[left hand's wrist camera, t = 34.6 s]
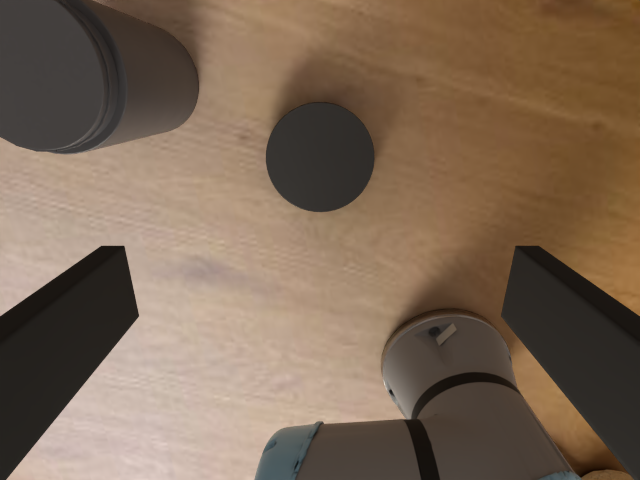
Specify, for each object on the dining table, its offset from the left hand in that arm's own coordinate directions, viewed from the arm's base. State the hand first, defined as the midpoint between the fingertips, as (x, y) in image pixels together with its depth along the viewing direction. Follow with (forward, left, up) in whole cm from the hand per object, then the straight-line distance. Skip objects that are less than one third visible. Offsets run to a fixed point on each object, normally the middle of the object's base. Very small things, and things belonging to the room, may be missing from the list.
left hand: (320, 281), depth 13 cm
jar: (+18, 0, -26) cm, 32 cm away
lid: (0, 0, -25) cm, 25 cm away
